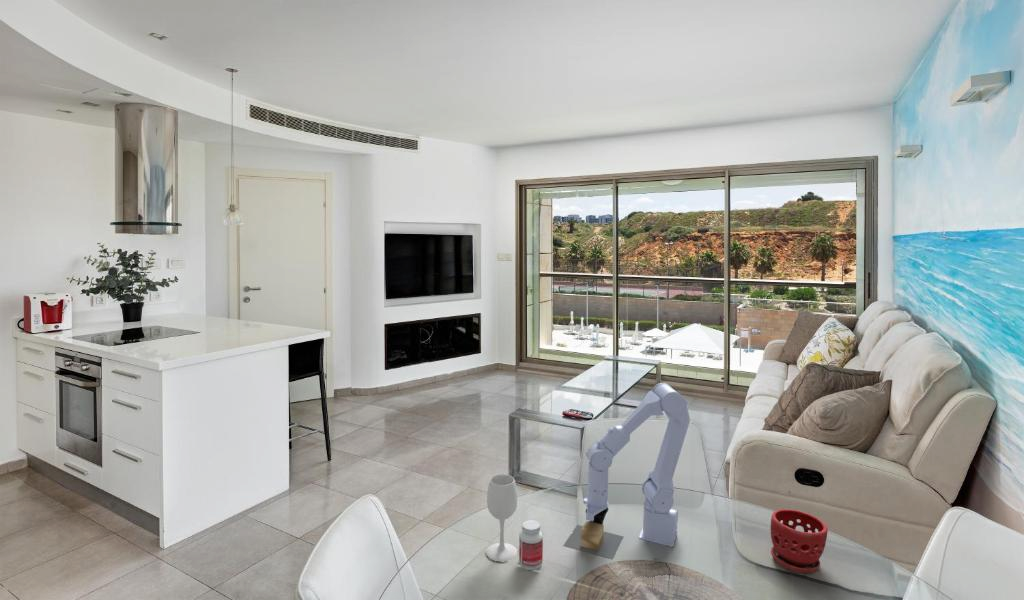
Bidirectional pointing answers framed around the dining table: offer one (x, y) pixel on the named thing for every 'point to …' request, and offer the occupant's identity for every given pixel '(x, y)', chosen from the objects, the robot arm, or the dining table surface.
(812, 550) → the plant pot
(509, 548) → the wineglass
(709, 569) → the dining table surface
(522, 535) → the pill bottle
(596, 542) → the oak block
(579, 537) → the mat
